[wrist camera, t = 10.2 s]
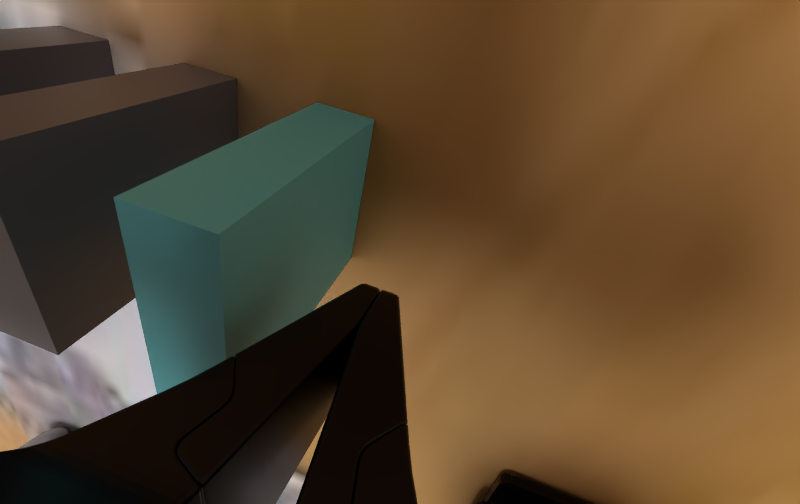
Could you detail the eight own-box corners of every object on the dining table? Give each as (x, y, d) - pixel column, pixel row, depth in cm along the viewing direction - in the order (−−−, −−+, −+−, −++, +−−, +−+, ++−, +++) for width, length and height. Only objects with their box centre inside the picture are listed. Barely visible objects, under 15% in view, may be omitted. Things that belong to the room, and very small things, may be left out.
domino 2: (236, 78, 12) (-28, 147, 7) (240, 219, 15) (57, 355, 9) (183, 62, 12) (-117, 116, 7) (197, 204, 15) (-7, 328, 10)
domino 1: (374, 119, 12) (218, 234, 6) (351, 257, 15) (230, 426, 9) (317, 102, 12) (113, 197, 6) (305, 241, 15) (157, 396, 9)
